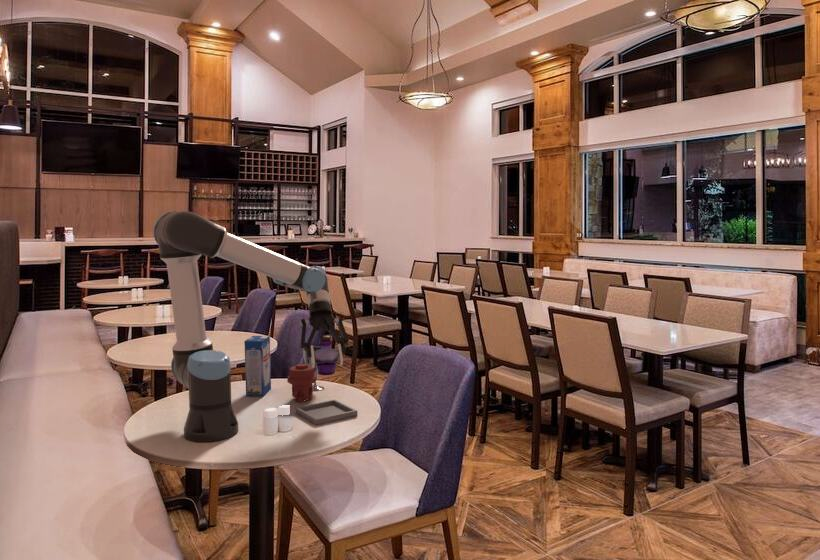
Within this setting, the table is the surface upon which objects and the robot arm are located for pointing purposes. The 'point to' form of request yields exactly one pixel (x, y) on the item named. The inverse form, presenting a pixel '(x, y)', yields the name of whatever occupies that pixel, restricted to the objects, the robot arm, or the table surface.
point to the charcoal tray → (325, 412)
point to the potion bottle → (326, 357)
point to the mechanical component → (302, 381)
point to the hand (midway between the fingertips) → (327, 364)
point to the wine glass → (308, 362)
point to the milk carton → (257, 366)
